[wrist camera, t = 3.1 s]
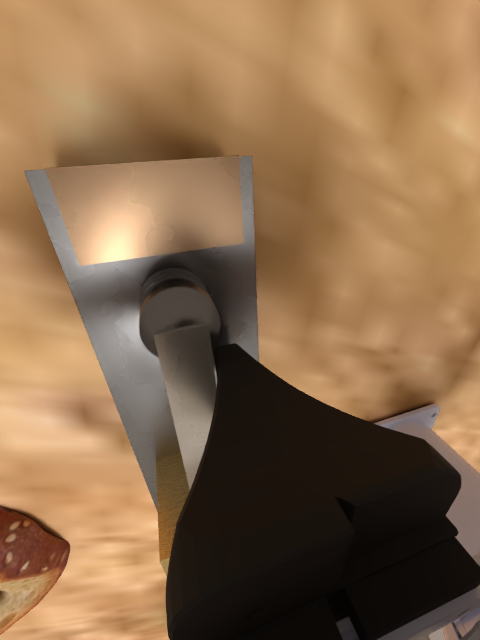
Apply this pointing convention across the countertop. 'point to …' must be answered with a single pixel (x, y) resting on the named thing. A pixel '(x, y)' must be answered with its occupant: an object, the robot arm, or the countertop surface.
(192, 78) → the countertop surface
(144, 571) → the countertop surface
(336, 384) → the countertop surface
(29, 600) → the bread slice
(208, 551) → the robot arm
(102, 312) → the grey piece
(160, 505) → the brushed gold cube
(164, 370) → the steel lever
